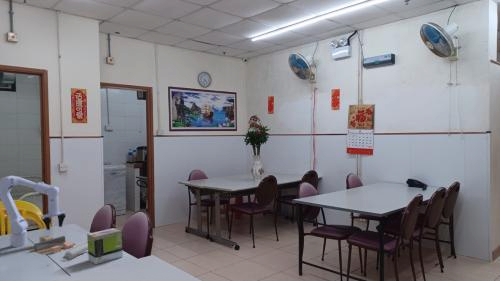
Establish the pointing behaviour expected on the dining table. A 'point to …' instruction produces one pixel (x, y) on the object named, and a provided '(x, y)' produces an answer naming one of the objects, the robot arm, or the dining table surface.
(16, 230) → the robot arm
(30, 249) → the board
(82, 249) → the tube
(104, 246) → the tea box
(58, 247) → the pink block
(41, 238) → the scraper
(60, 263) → the dining table surface
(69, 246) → the tile
